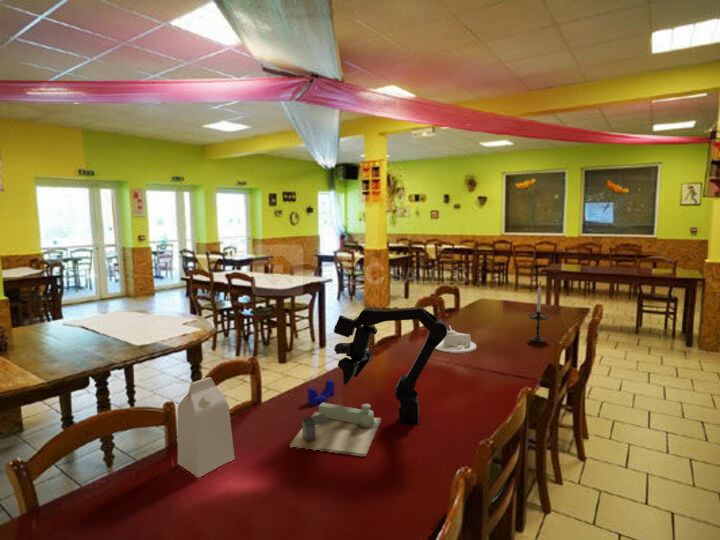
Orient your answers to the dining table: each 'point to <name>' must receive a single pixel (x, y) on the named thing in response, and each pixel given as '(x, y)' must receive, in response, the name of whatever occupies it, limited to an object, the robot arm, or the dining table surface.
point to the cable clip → (322, 397)
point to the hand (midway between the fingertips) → (350, 380)
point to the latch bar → (348, 414)
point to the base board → (339, 437)
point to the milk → (204, 429)
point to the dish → (456, 343)
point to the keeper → (312, 426)
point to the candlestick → (538, 318)
